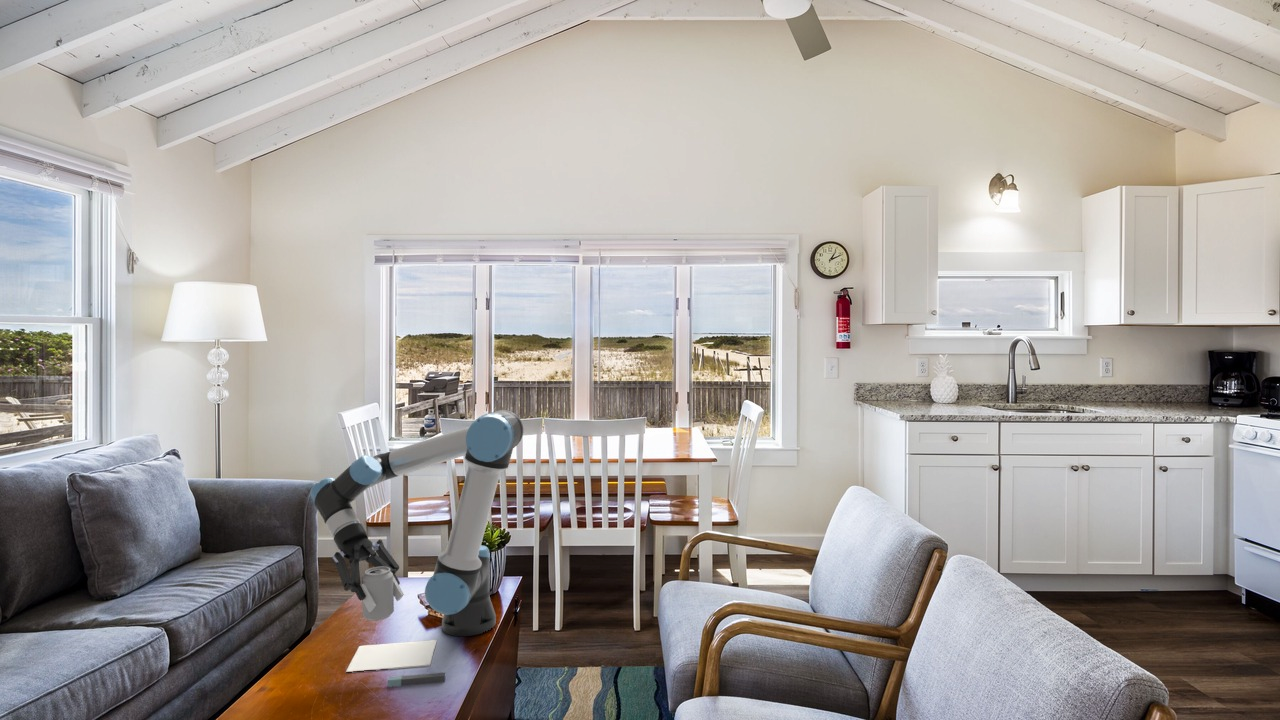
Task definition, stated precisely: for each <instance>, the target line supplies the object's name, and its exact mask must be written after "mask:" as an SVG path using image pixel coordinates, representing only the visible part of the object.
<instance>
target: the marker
mask: <svg viewBox="0 0 1280 720" xmlns="http://www.w3.org/2000/svg"><path fill="white" fill-rule="evenodd" d="M445 682H446V672H437V673H434V672H433V673H424V674H413V675H410V674H409V675H393V676H389V677H388V679H387V688H395V686H396V687H405V686H415V685H416V686H417V685H426V684H427V685H428V684H437V683H438V684H439V683H445ZM392 686H394V687H392Z"/></svg>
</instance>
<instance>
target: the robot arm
mask: <svg viewBox="0 0 1280 720" xmlns="http://www.w3.org/2000/svg"><path fill="white" fill-rule="evenodd" d="M523 436H524V425H523V422H522V420H521V418H520V417H519V416H518V415H517V414H516V413H514V412H512V411H511V410H507V409H498V410H496V411H492V412H490V413H485V414H482V415H481V416H479V417H477V418H476V419H475V420H474V421H473V422H472V423H471V424H470V425H469V426H467V427H463V428H459V429H457V430H454V431H450V432H447V433H445V434H441V435H437V436H435V437H432V438H428V439H425V440H422V441H419V442H416V443H413V444H410V445H406V446H403V447H400V448H397V449H394V450H392V451H391V450H390V451H388V452H385V453H379V454H376V455H374V456H370V455H365V454H364V455H362V456H360V457H358V459H356V460H354V461H353V462H352V463H351V464H350V465H349V466H348V467H347V468H346V469H345V470H344V471H342V473H340V474H339V475H338V476H337V477H336V478H334V477H326V478H323V479H321V480H320V481H318V482H316V483H315V484H314V485H312V487H311V489H310V491H309V493H310V495H309V496H310V497H311V499H312V502H313V504H314V506H315V508H316V509H317V512H318V513H319V514H320V516H321V518H322V520H323V521H324V524H325V525H326V528H327V530H328V531H329V534H330V535H331V537H332V538H333V541H334V543H335V546H336V547H337V549H338V550H340V551H336V552H335V553H334V555H333V556H332V558H331V561H332V563H333V564H334V565H335V567H336V570H337V572H338V576H339V578H340V581H341V583H342V587H343V589H344V591H346V592H347V591H350V592H351V593H355V595H356V597H357V599H358V600H359V601H360V602H361V601H362V600H363V602H364V604H365V606H366V608H367V610H368V612H371V611H372V610H373V609H374V608H375V606H376V604H375V602H374V600H373V599H372V597H371V595H370V593H369V591H368V589H367V587H366V586H365V584H362V581H361V573H360V571H361V570H360V562H364V561H365V562H367V564H368V563H370V564H371V565H372V567H381V566H384V567H389V568H390V571H391V572H392V573H393V591H394V600H396V602H399V601H400V600H401V599H402V598H403V597H404V595H405V593H404V592H403V590H402V588H401V586H400V581H399V579H398V577H397V574H396V573H397V572H398V570H399V569H400V565H399V564H398V562H396V560H395V558H393V556H392V555H391V553H390V552H389V551H388V550H387V548H386V547H385V544H384V542H383V540H382V539H377V541H372V540H370V539H369V538H368V534H367V532H366V529H365V528H364V527H363V524H362V523H361V521H360V519H359V517H358V515H357V514H356V512H355V510H354V509H353V506H352V505H351V503H353V501H355V500H356V499H357V498H358V497H359V496H360V495H362V493H364V492H365V491H366V490H367V489H370V488H371V487H373V486H376V485H378V484H380V483H382V482H385V481H387V480H391V479H395V478H397V477H399V476H402V475H406V474H409V473H412V472H416V471H418V470H419V471H420V470H422V469H426V468H429V467H433V466H436V465H438V464H441V463H445V462H448V461H451V460H454V459H458V458H460V457H463V456H465V457H464V460H465V461H466V464H467V465H468V467H467V470H466V474H465V475H466V476H465V478H464V483H463V486H462V489H461V494H460V497H459V499H458V500H459V501H458V504H457V508H456V512H455V515H454V520H453V523H452V526H451V530H450V534H449V536H448V537H449V538H448V542H447V546H446V549H445V550H443V551H442V552H440V553H439V554H438V556H437V560H436V564H435V568H434V571H433V574H432V576H430V577H429V579H428V581H427V583H426V585H425V588H424V597H425V600H426V603H428V605H429V607H430V608H431V609H432V610H433V611H435V612H436V613H438V614H441V615H443V616H442V618H441V619H442V620H441V630H442V632H444V633H445V634H448V635H449V636H454V637H472V636H477V635H481V634H484V633H486V632H489V631H491V630H492V629H493V628H495V626H496V624H497V622H496V621H497V614H496V611H495V609H494V606H493V603H492V601H491V600H492V599H491V597H490V585H491V583H490V580H491V579H490V573H491V572H490V570H491V569H490V566H491V565H490V564H491V563H490V559H491V556H490V550H489V548H488V547H487V546H486V545H482V542H483V539H484V536H485V531H486V529H487V525H488V520H489V517H490V514H491V509H492V506H493V503H494V502H493V501H494V498H495V496H496V491H497V487H498V485H499V480H500V476H501V473H502V472H504V471H506V470H508V468H509V464H510V462H511V457H512V454H513V451H514V448H515V447H517V446H518V445H519V444H520V442H521V440H522V438H523ZM345 559H347V560H348V566H349V568H348V566H347V563H346V562H347V561H346V560H345ZM349 569H350V571H349ZM491 628H492V629H491ZM488 630H489V631H488ZM485 631H486V632H485ZM483 632H484V633H483Z"/></svg>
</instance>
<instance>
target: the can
mask: <svg viewBox="0 0 1280 720" xmlns="http://www.w3.org/2000/svg"><path fill="white" fill-rule="evenodd" d="M362 584H365V586H366V587H367V589H368V591H369V593H370V595H371V597H372V599H373V600H374V602H375V604H376V606H375V608H374V609H373V610H372V611H371V612H368V610H367V608H366V606H365V604H364V602H363V600H361V601H362V602H361V603H362V604H361V605H362V606H361V607H362V609H361V611H362V617H363V618H365V620H367V621H370V622H377V621H382V620H386V619H388V618H389V617H391V615H392V614H393V613H394V612H395V602H394V601H395V597H394V591H393V573H392V572H391V571H390V568H389V567H384V566H381V567H374V566H372V567H370V568H368V569H365V571H364V572H363V576H362V577H361V585H362Z"/></svg>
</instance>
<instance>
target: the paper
mask: <svg viewBox="0 0 1280 720" xmlns="http://www.w3.org/2000/svg"><path fill="white" fill-rule="evenodd" d="M437 641H438V640H437V639H430V640H419V641H406V642H393V643H382V644H381V643H380V644H365V645H359V646H358V647H357V650H356V651H355V654H354V656H353V657H352V659H351V660H350V663H349V665H348V667H347V669H346V671H345V673H346V672H352V673H354V672H353V671H364V670H376V671H381V670H380V669H388V670H397V669H398V670H399V669H411V668H423V667H430V666H431V664H432V660H433V657H434V656H433V655H434V653H435V649H436V646H437ZM364 672H365V671H364Z"/></svg>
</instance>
